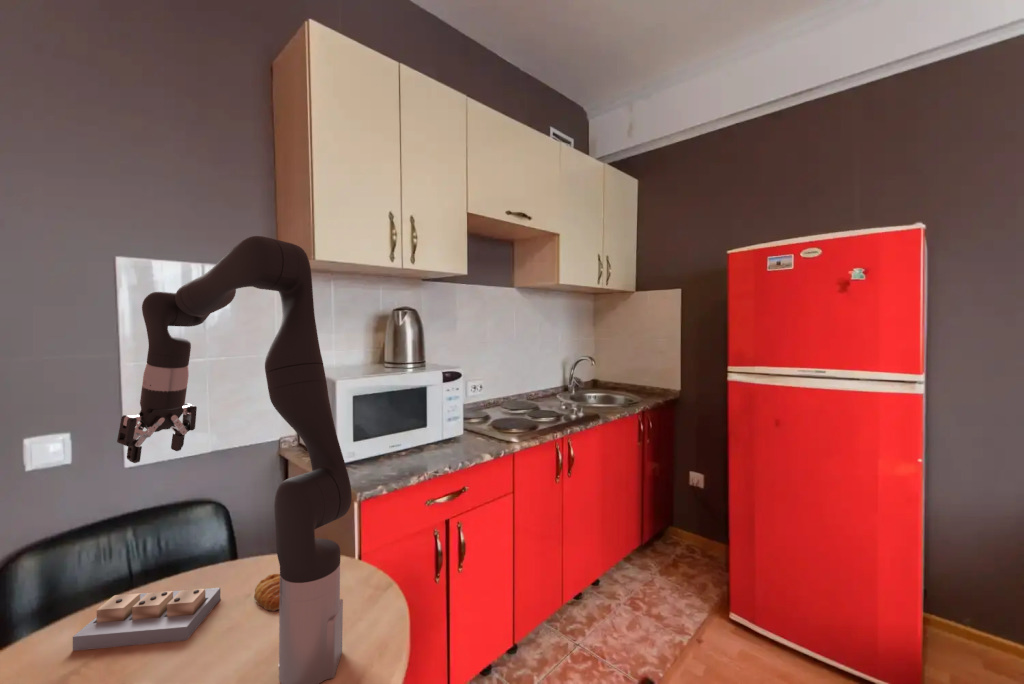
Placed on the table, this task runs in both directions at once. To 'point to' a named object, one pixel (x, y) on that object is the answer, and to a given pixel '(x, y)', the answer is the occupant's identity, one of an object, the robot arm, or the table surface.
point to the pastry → (268, 592)
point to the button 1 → (117, 608)
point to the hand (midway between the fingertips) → (156, 455)
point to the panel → (144, 627)
